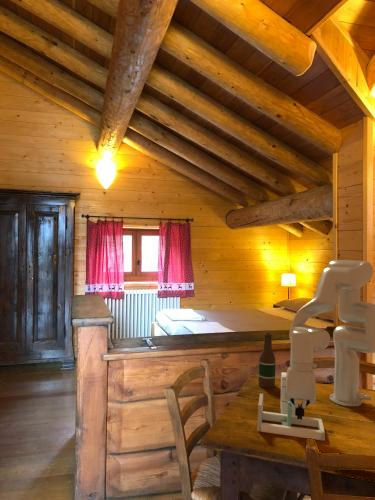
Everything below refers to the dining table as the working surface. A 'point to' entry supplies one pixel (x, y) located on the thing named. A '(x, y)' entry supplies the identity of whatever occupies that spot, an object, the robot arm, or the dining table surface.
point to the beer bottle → (267, 364)
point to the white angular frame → (288, 429)
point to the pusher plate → (288, 415)
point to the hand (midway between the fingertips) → (299, 417)
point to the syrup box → (284, 402)
